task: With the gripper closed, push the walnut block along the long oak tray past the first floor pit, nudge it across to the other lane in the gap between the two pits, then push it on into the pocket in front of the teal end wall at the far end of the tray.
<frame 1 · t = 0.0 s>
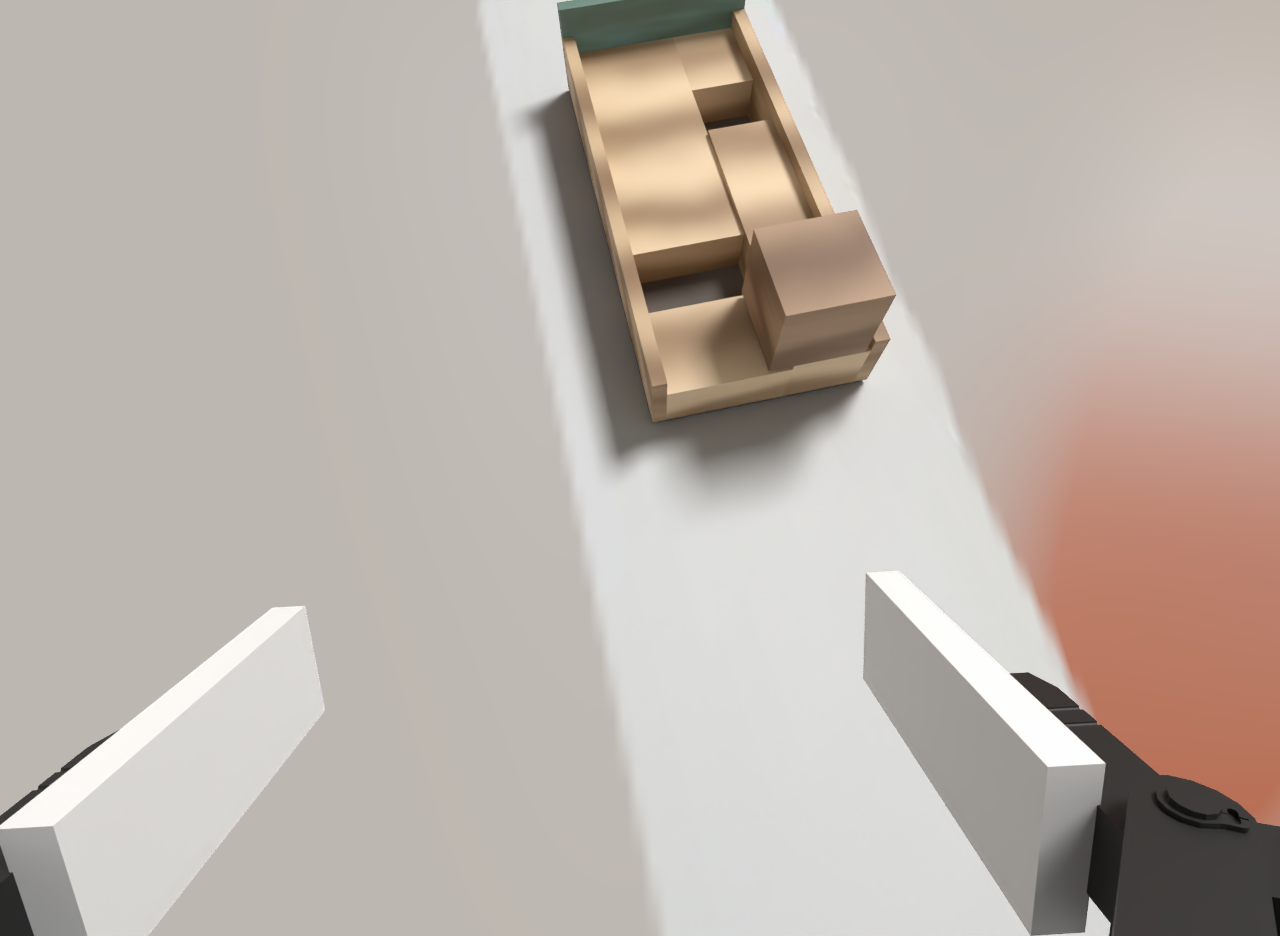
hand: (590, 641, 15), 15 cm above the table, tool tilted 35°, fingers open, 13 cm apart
block: (801, 321, 33), point 3 cm above the table, touching tray
tray: (699, 214, 40), on the table
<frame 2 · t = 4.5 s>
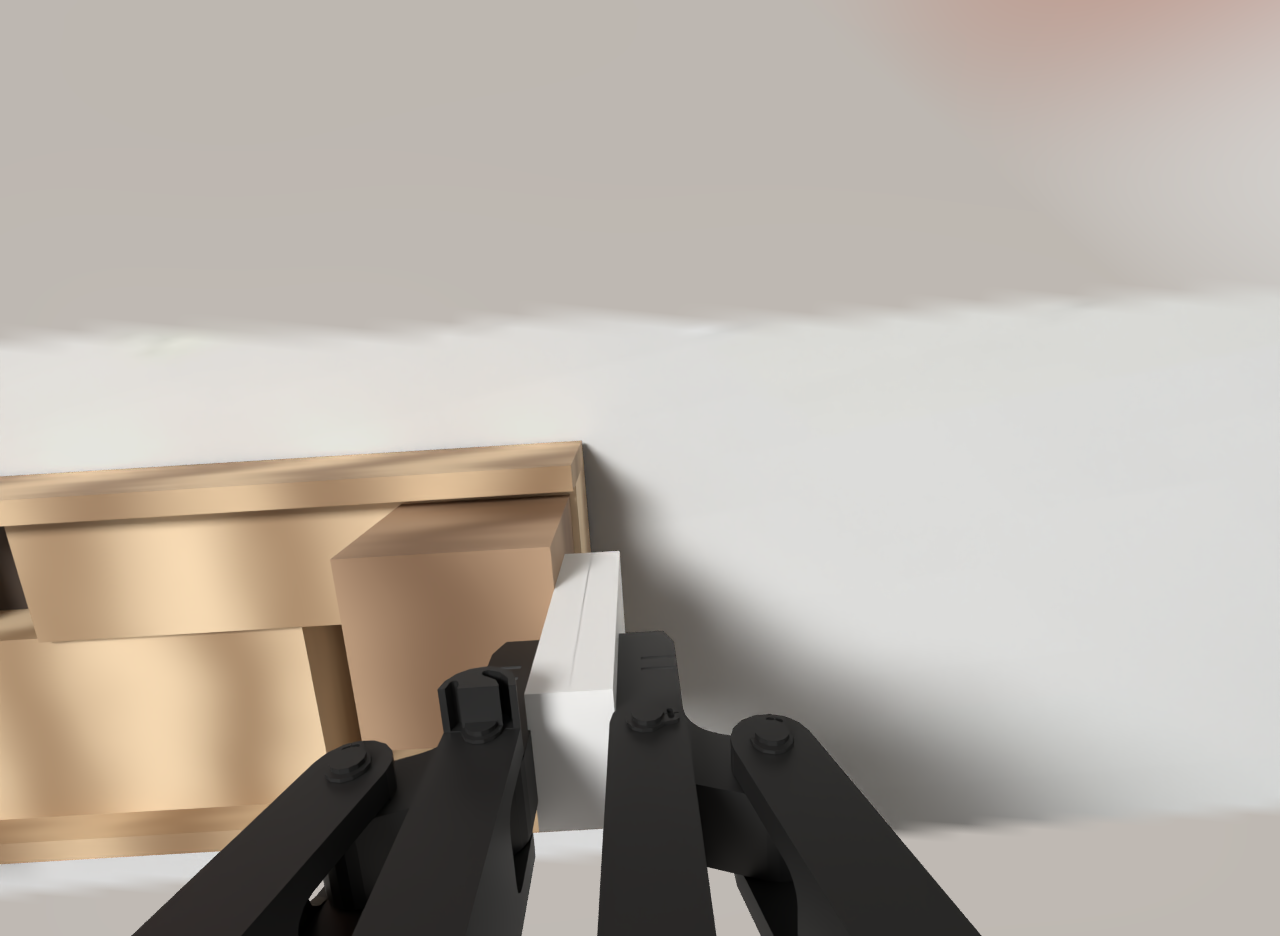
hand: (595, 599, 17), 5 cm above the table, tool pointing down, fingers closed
block: (494, 578, 19), point 3 cm above the table, touching gripper
tray: (221, 627, 23), on the table
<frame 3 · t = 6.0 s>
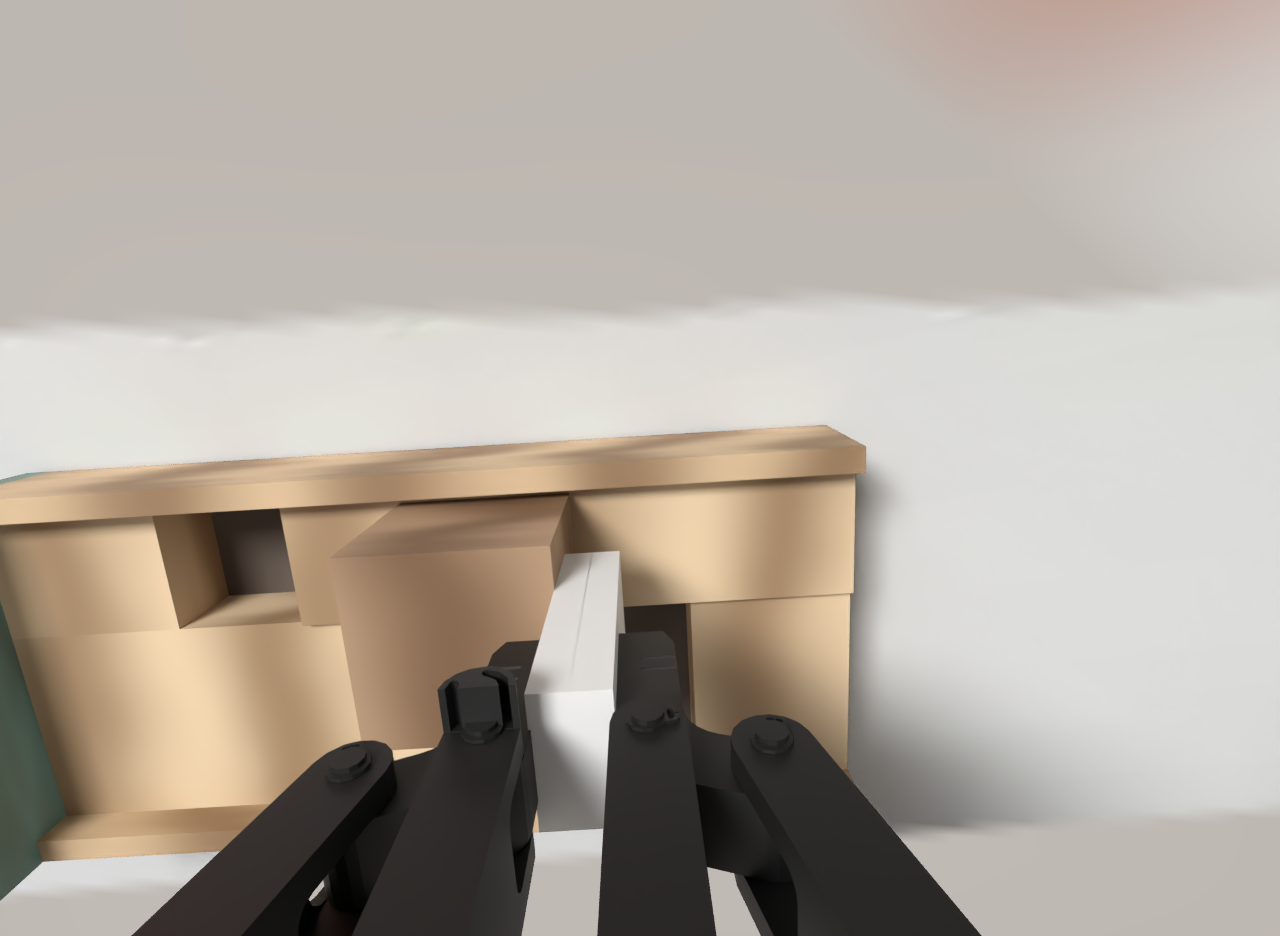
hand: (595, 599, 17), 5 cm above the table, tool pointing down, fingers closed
block: (493, 577, 19), point 3 cm above the table, touching gripper, tray
tray: (448, 613, 23), on the table
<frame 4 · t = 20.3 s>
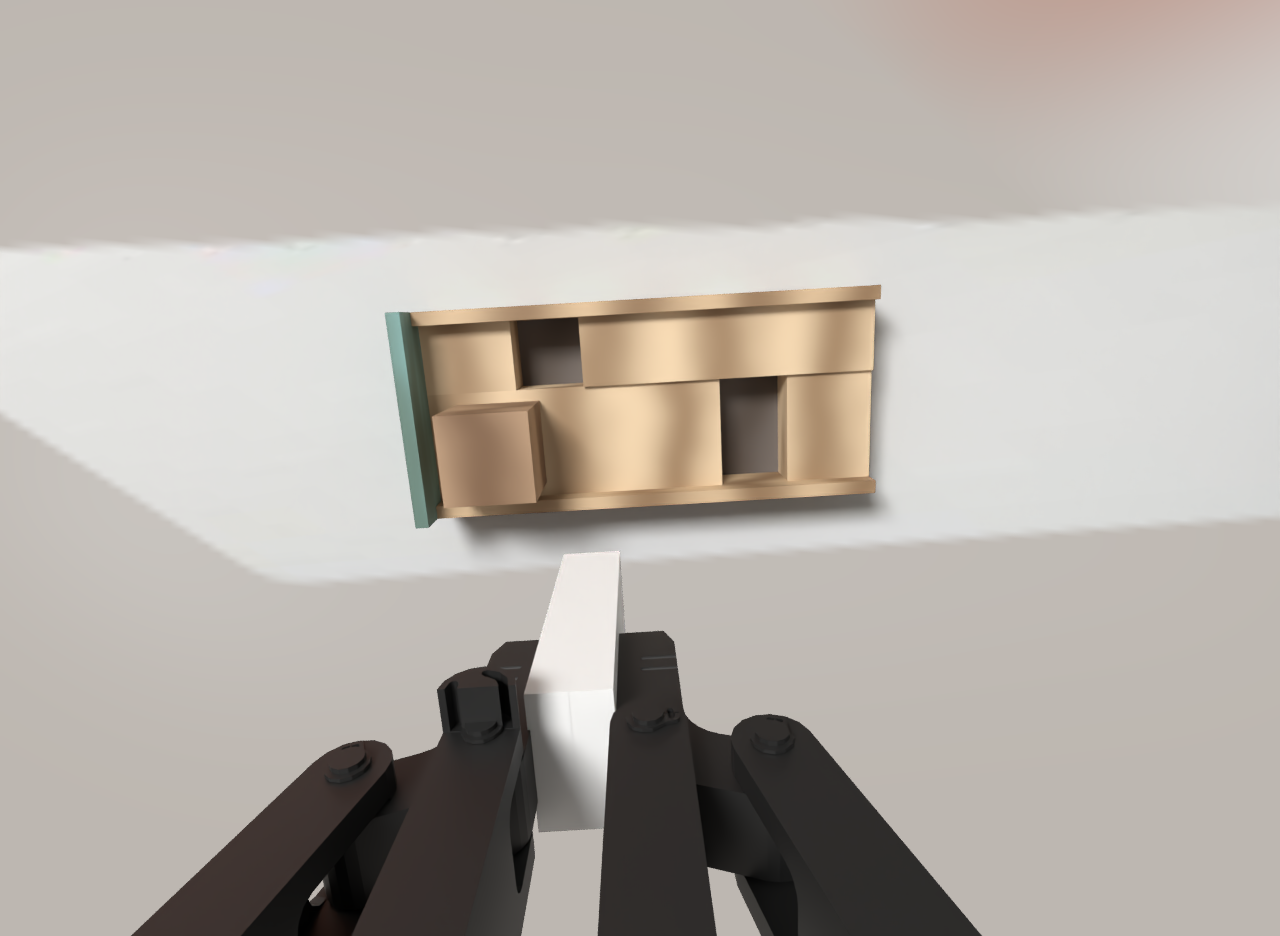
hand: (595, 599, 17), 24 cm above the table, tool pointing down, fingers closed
block: (501, 444, 38), point 3 cm above the table, touching tray
tray: (643, 398, 40), on the table
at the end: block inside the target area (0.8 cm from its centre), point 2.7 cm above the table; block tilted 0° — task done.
